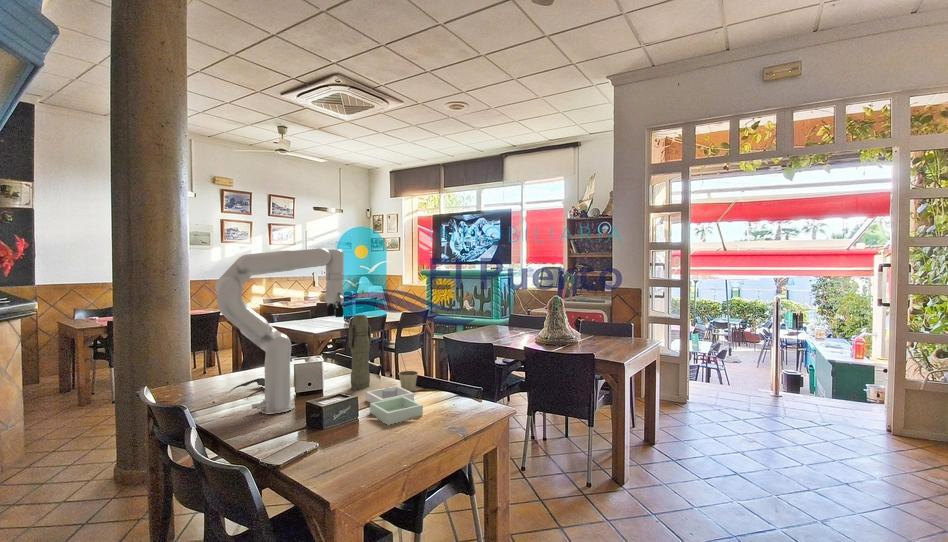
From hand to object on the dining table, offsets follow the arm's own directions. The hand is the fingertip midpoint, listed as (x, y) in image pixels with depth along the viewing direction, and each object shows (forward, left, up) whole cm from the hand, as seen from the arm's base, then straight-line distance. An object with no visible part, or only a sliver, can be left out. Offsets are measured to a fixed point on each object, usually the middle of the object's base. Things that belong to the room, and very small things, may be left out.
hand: (335, 316), depth 192 cm
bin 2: (+10, -36, -37) cm, 53 cm away
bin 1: (+16, -20, -37) cm, 45 cm away
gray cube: (+16, -20, -36) cm, 44 cm away
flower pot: (+31, -10, -37) cm, 49 cm away
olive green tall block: (+16, +10, -37) cm, 42 cm away
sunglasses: (-27, +34, -37) cm, 57 cm away
